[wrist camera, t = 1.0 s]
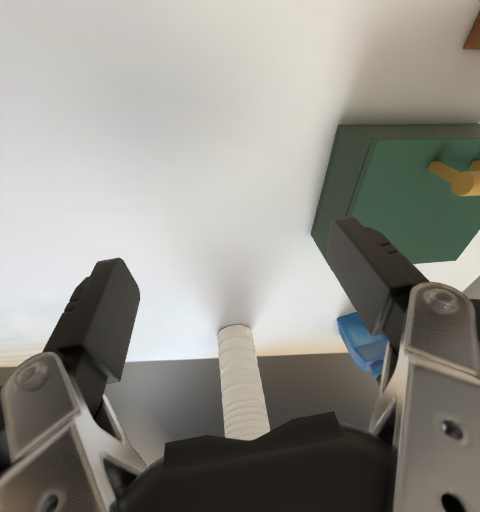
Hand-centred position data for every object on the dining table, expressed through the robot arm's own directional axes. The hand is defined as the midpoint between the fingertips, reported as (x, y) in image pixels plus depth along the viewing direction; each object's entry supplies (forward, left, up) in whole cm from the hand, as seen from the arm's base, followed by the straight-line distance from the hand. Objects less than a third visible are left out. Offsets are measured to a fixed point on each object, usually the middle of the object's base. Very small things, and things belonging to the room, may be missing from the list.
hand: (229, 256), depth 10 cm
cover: (+12, +19, -13) cm, 25 cm away
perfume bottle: (+41, +16, -19) cm, 48 cm away
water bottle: (+35, -6, -19) cm, 40 cm away
